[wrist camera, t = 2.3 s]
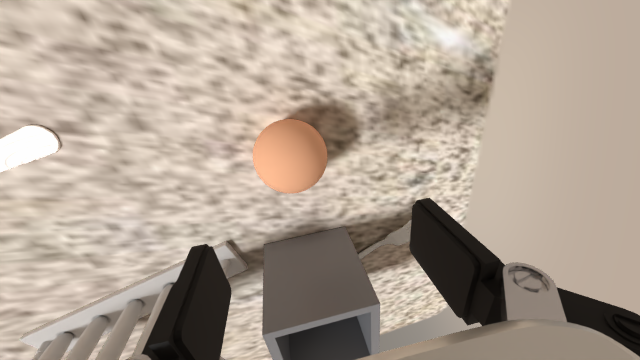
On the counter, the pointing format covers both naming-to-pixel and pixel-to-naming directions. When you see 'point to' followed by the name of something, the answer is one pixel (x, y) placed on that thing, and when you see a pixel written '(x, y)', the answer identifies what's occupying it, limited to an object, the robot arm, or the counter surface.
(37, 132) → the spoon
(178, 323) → the robot arm
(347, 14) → the counter surface
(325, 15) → the counter surface
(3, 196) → the counter surface
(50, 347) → the test tube rack
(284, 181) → the ball
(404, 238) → the fork
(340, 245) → the grey open square box
